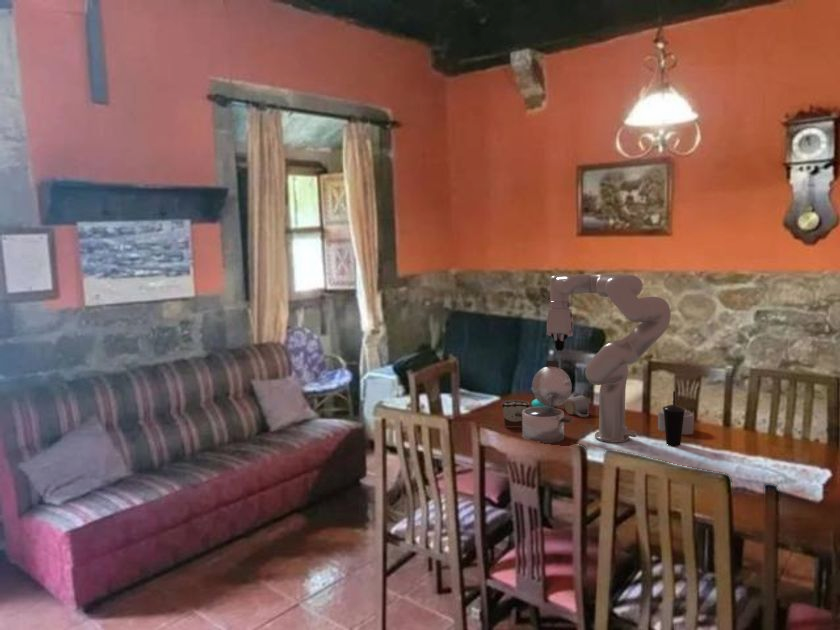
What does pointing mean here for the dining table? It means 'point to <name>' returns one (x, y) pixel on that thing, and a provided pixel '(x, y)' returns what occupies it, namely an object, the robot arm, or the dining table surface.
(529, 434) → the pot
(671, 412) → the drinking cup
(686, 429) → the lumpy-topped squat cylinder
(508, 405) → the food container
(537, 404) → the donuts
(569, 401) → the ceramic mug
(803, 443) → the dining table surface
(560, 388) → the lid
